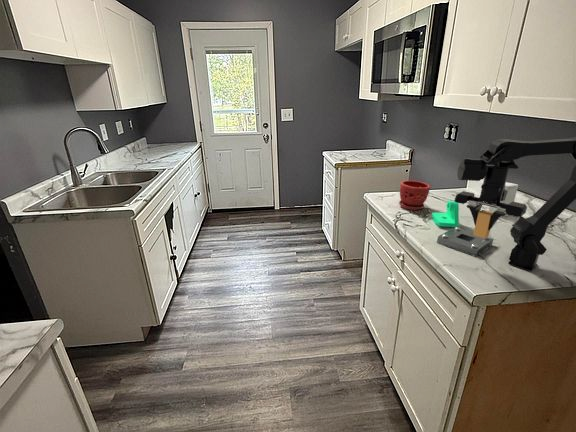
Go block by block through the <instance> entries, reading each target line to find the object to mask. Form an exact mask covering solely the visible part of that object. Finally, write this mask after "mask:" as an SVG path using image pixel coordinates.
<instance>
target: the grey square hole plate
mask: <svg viewBox="0 0 576 432" xmlns="http://www.w3.org/2000/svg"><path fill="white" fill-rule="evenodd" d="M473 233H474V231H469V230H466V229H463V228H461V227H459V226H458V227H451V228H450V229H449V230H447V231H445V232H443V233H442V234H440V235H438V236H437V241H436V243H437V244H441V245H443V246H446V247H449V248H451V249H454V250H456V251H460V252H462V253H465V254H468V255H471V256H473V257H477V256H478V257H479V255H481V254H482V253H483V252H485V250H487V249H488V248H490V247H492V245H493V243H494V238H492V237H490V236H487V237H486V238H481V237H478V236H475V235H473Z"/></svg>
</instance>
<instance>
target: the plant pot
mask: <svg viewBox="0 0 576 432" xmlns="http://www.w3.org/2000/svg"><path fill="white" fill-rule="evenodd" d="M430 189H431V185H429V184H428V183H425V182H422V181H418V180H417V181H416V180H404V181H401V182H400V187H399V197H400V200H399V201H398V204H399V206H400V207H401V208H403V209H406V210H410V211H411V210H412V211H418V210H421V209H423V208H424V207H425V205H424V203H426V200H427V199H428V196H429V193H430Z"/></svg>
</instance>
